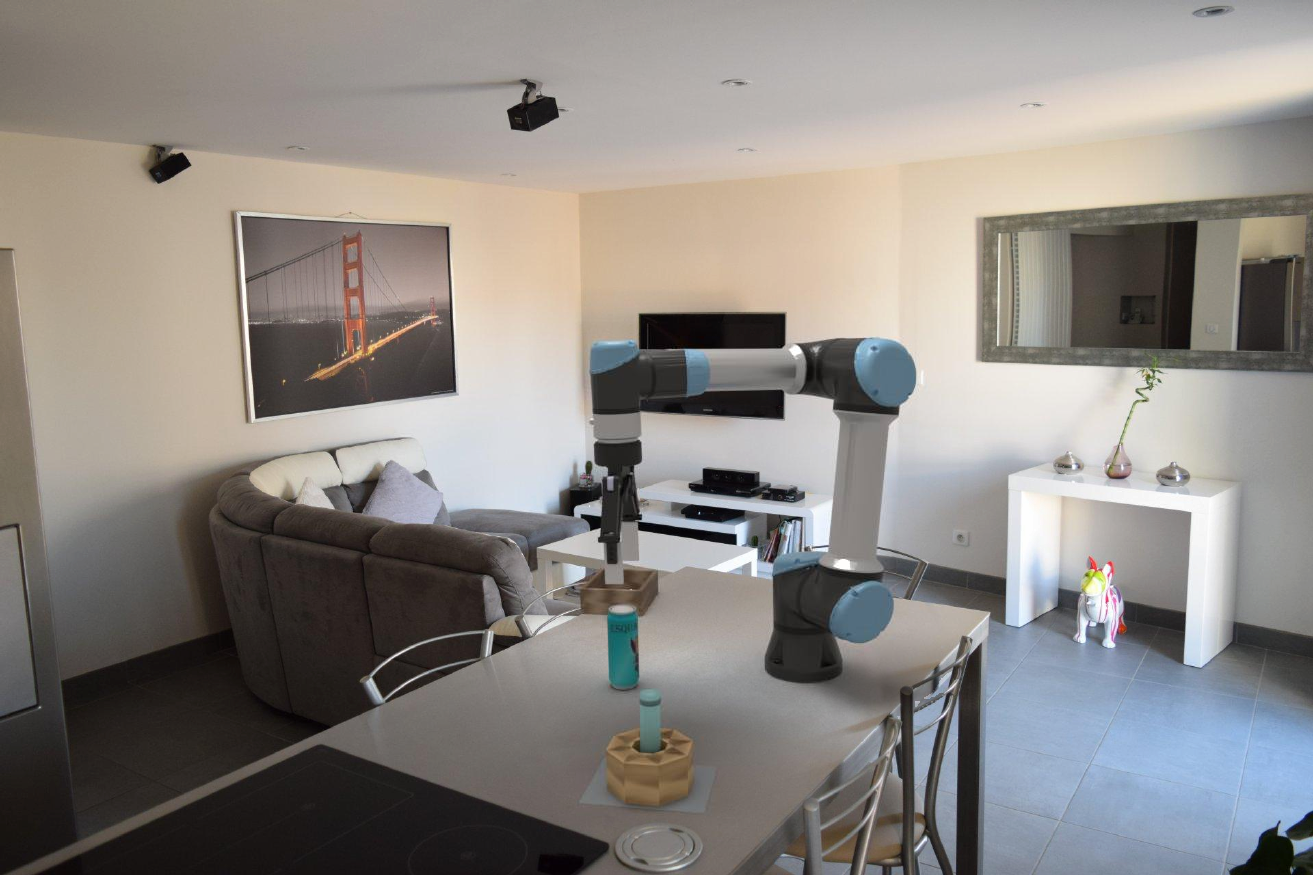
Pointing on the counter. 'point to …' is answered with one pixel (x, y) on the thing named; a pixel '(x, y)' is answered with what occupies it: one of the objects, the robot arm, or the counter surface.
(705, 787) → the slate mat
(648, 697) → the teal capped bottle
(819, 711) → the counter surface
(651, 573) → the open wooden box
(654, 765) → the wooden bead
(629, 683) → the beverage can
